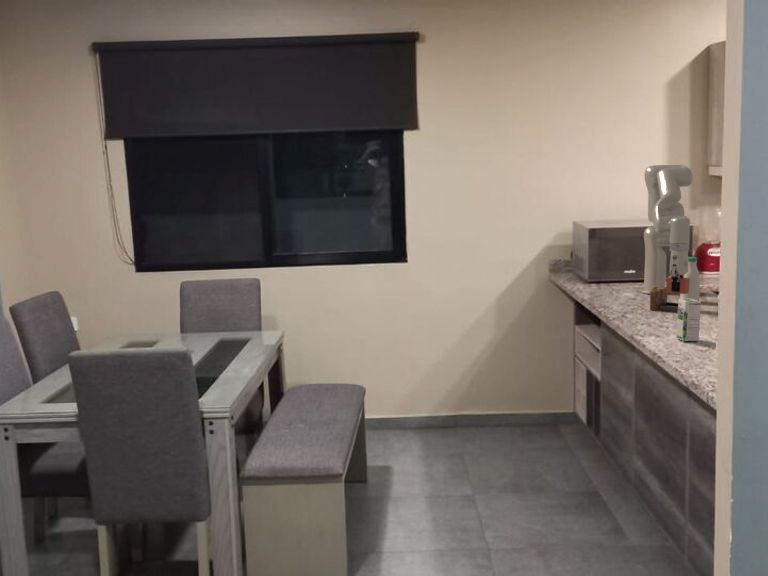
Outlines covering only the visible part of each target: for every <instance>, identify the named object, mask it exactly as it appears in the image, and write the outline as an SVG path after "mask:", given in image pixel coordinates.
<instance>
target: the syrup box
mask: <svg viewBox="0 0 768 576" xmlns="http://www.w3.org/2000/svg"><path fill="white" fill-rule="evenodd" d="M677 303H678V312H677V320H676V321H677V323H676V336H675V337H676V338H678V339H680V340H682V341H699V340H700V325H701V323H700V322H701V308H702V307H701V306H702V302H701V301H700V300H699V301H697V300H694V299H680V298H679V299H678V301H677ZM676 338H675V339H676ZM678 339H677V340H678ZM680 340H679V341H680ZM682 341H681V342H682Z"/></svg>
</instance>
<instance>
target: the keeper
mask: <svg viewBox="0 0 768 576" xmlns="http://www.w3.org/2000/svg"><path fill="white" fill-rule="evenodd" d="M657 311H664V312H672V313H673V312H675V313H678V302H671V301H670V302H669V301H667V302H665V303H662V304H660V305H659V308H658V310H657Z"/></svg>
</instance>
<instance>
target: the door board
mask: <svg viewBox="0 0 768 576" xmlns="http://www.w3.org/2000/svg"><path fill="white" fill-rule="evenodd" d="M649 298H650V299H649V300H650V301H649V311H650V310H651V311H652V312H656V311H659V310H658V308H659V305H660V304H662V303H665V302H668V293H667V292H666V286H665V287H661V288H658V289H657V287H656V286H652V287H651V294H650V297H649Z"/></svg>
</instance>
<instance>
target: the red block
mask: <svg viewBox="0 0 768 576" xmlns="http://www.w3.org/2000/svg"><path fill="white" fill-rule="evenodd" d="M679 282H680V291H679V292H674V291H671V286H672V277H671V275H670V276H668V277H666V281H665V283H666V285H665V287H666V292H668V293H667V294H679V295H680V294H687V293H689V278H679Z"/></svg>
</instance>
